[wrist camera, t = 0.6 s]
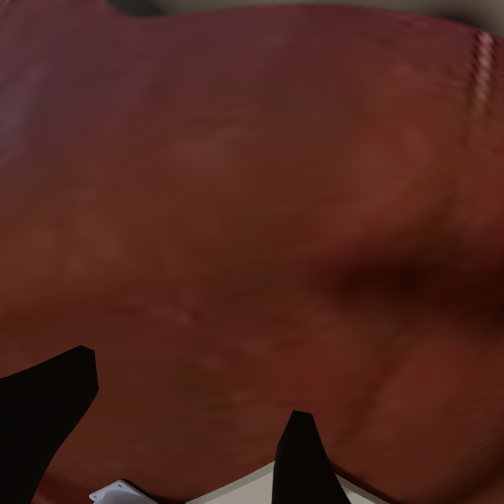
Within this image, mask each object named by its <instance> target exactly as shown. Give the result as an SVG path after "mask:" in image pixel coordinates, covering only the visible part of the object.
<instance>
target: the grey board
mask: <svg viewBox="0 0 504 504" xmlns="http://www.w3.org/2000/svg"><path fill="white" fill-rule="evenodd" d="M274 462H275V461H273V462H272V463H270V464H268V465H266V466H264V467H262V468H261V469H259V470H257V471H255V472H253V473H251V474H249V475H247V476H245V477H243V478H241V479H239V480H237V481H235V482H233V483H230V484H228V485H226V486H224V487H222V488H220V489H217V490H215V491H213V492H211V493H208V494H206V495H203V496H201V497H199V498H196V499H194V500H191V501H189V502H186V503H185V504H271V501H272V483H273V468H274ZM336 477H337V478H338V480H339V482H340V484H341V486H342V488H343V490H344V492H345V493H346V495H347V497H348V498H349V500H350V502H351V503H352V504H389V503H387V502H385V501H383V500H381V499H379V498H378V497H376V496H374V495H372V494H370V493H368V492H366V491H365V490H363V489H361V488H359V487H357V486H356V485H354V484H352V483H350V482H349V481H347V480H345V479H344V478H342V477H340V476H339V475H337V474H336Z"/></svg>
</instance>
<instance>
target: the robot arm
mask: <svg viewBox="0 0 504 504" xmlns="http://www.w3.org/2000/svg"><path fill="white" fill-rule="evenodd" d="M98 390H99V387H98V379H97V371H96V362H95V351H94V350H91V349H89V348H87V347H85V346H82V345H80V346H78V347H75V348H73V349H71V350H69V351H67V352H64V353H62V354H60V355H58V356H56V357H54V358H51V359H49V360H47V361H45V362H43V363H40V364H38V365H36V366H33V367H31V368H28V369H26V370H23V371H21V372H18V373H15V374H13V375H10V376H7V377H4V378H1V379H0V504H31V501H32V499H33V496H34V494H35V492H36V489H37V487H38V485H39V483H40V481H41V479H42V477H43V475H44V473H45V471H46V469H47V467H48V465H49V463H50V462H51V460H52V458H53V456H54V455H55V453H56V452H57V450H58V449H59V447H60V446H61V445H62V443H63V442H64V441H65V439H66V438H67V437H68V435H69V434H70V433H71V431H72V430H73V429H74V428H75V426H76V425H77V424H78V422H79V421H80V420H81V418H82V417H83V416H84V414H85V413H86V412H87V410H88V408H89V407H90V405H91V403H92V402H93V400H94V398H95V396H96V394H97V392H98ZM89 497H90V498H91V499H92V500H93V501H95V502H94V504H159V503H157V502H155V501H154V500H152V499H150V498H149V497H147V496H146V495H144V494H143V493H141V492H140V491H138V490H137V489H135V488H134V487H132V486H131V485H129V484H128V483H127V482H125V481H123V480H118V481H116V482H114V483H112V484H110V485H108V486H106V487H104V488H102V489H100V490H98V491H96V492H94V493H92V494H90V496H89ZM271 504H352V503H351V502H350V500H349V498H348V497H347V495H346V493H345V492H344V490H343V488H342V486H341V484H340V482H339V480H338V478H337V477H336V474H335V472H334V470H333V468H332V466H331V464H330V461H329V459H328V457H327V454H326V452H325V450H324V447H323V444H322V442H321V439H320V436H319V434H318V431H317V428H316V425H315V421H314V418H313V416H312V414H311V413H306V412H300V411H295V410H293V412H292V414H291V417H290V419H289V421H288V423H287V426H286V428H285V430H284V432H283V434H282V437H281V439H280V441H279V443H278V445H277V451H276V457H275V462H274V468H273V483H272V501H271Z"/></svg>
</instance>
